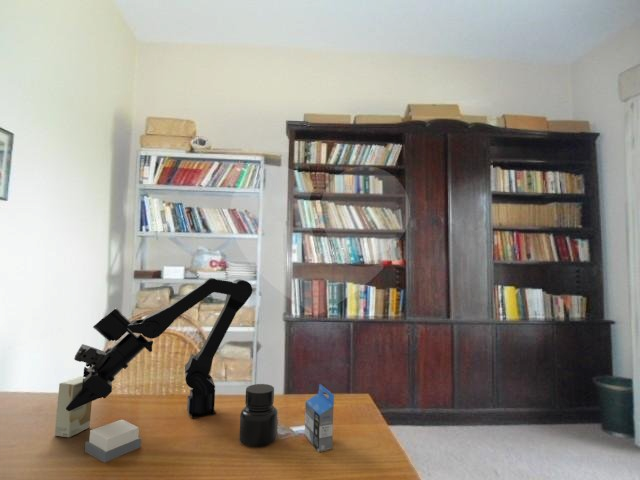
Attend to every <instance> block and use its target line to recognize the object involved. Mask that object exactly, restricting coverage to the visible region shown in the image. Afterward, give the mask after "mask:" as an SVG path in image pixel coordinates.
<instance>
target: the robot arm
mask: <svg viewBox="0 0 640 480" xmlns="http://www.w3.org/2000/svg"><path fill="white" fill-rule="evenodd" d="M214 293H217V294H222V295H226V296H225V302H224V306H223V307H222V309H221V311H220V313H219V315H218V317H217V318H216V321H215V322H214V325H213V326H212V328H211V330H210V332H209V333H208V335H207V337H206V340H205V341H204V343H203V345H202V347H201V349H200V350H199V351H198V352H197V354H194V353H190V356H189V359H188V361H187V362H186V363H185V364H184V379H185V383H186V385H187V387H189V388H191V389H189V395H187V402H186V411H187V413H188V415H189V416H190V418H191V419H195V418H196V419H197V418H201V417H207V416H212V415H213V416H214V415H216V414H217V411H216V410H215V403H216V402H215V401H216V399H215V398H216V396H215V395H216V384H215V382H214V379H213V377H212V376H211V375H210V372H211V369H212V365H213V361H214V357H215V356H216V354H217V352H218V349H219V347H220V345H221V343H222V342H223V341H224V340H223V339H224V338H225V336H226V334H227V332H228V330H229V329H230V326H231V324H232V322H233V320H234V318H235V316H236V315H237V313H238V311H239V310H241V308H242V307H243V306H244V305H245V304H246V303H247V302H248V301H249V299H250V297H251V296H252V294H253V287H252V285H251V283H250V282H249V281H247V280H246V279H245V280H244V279H235V280H233V281H230V280H222V279H217V278H215V277H214V278H213V277H209V278H207V279H205V280H204V282H202V283H201V284H199V285H198V286H196V287H195V288H194V289H192V290H191V291H189V292H188V293H186V294H185V295H183V296H182V297H180V298H179V299H177V300H176V301H174V302H173V303H171V304H170V305H168V306H166V307H163V308H161V309H159V310H157V311H155V312H152V313H150V314H148V315H146V317H144V318H140V319H134V320H131V321H130V320H129V319H127V317H126V316H125V315H123V313H122V311H120V310H119V309H118V308H117V307H115V308H114V309H113V310H112V311H111V312H110V313H109V314H107V315H105V316H104V317H102V318H101V319H100V320H99V321H98V322H97V323H96V324H94V325H93V326H92V328H93V329H94V330H96V332H98V333H99V334H100V335H101V336H102V337H103V338H105V340H107V341H108V342H111V341H112V342H117V341H118V340H119V341H118V342H117V343H116V344H115V345H114V346H113V347H109V348H107V349H106V350H105V351H104V350H101V349H98V348H97V347H92V346H90V345H87V344H84V343H83V344H81V345H80V347H79V348H78V350H77V351H76V354H75V355H74V361H75V362H81V363H85V366H84V367H83V376H82V377H86V378H85V379H84V378H83V384H82V389H81V390H80V391H79V392H78V393H77V395H76V396H75V397H74V398H73V400H72V401H71V402H70V403H69V404H68V406H67V407H66V410H68V411H71V410H73V409H76V408H78V407H80V406H82V405H84V404H87V403H89V402H91V401H92V402H93V401H96V400H98V399H106V398H108V396H109V395H111V394H112V392H113V384H112V382H113V381H114V380H115V377H116V376H117V375H118V374H119V373H120V372H121V371H122V370H123V369H124V370H126V369H127V368H128V367H129V364H130V362H131V361H133V360H134V359H135V358H136V357H137V355H139V354H140V353H141V352H142V351H144V349H146V350H147V351H148V352H149V353H152V352H153V345H154V340H153V339H156V338H159V337H160V336H161V335H162V334H164V332H165V331H166V330H167V329H169V327H170V326H171V325H172V324H173V323H174V322H175V321H176V320H177V319H178V318H179V317H181V316H182V315H183V314H184V313H186V312H187V311H189V310H190V309H191V308H193V307H195V306H196V305H197V304H199V303H200V302H202V301H203V300H205V298H207V297H209V296H210V295H212V294H214ZM126 333H127V334H126ZM125 334H126V335H125ZM137 334H138V335H137ZM124 335H125V336H124ZM123 336H124V337H123ZM122 337H123V338H122ZM121 338H122V339H121ZM120 339H121V340H120ZM148 339H152V340H148Z"/></svg>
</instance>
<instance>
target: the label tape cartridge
mask: <svg viewBox="0 0 640 480" xmlns="http://www.w3.org/2000/svg"><path fill="white" fill-rule="evenodd" d="M324 393H325V394H326V395H327V396H328V397H327V396H326V395H325V394H324ZM304 403H305V405H304V406H305V407H304V409H305V412H304V436H305V437H307V438H306V439H307V440H308V441H309V442H310V443H311V444H312V446H313V448H314V449H316V451H317V452H318V453H322V452H321V451H323V452H325V451H324V450H328V451H330V450H329V449H332V450H333V436H334V435H333V434H334V406H335V405H334V404H335V394H334V393H333V392H331V391H330V390H329V389H327V388H326V387H325V386H323V385H322V384H321V383H319V385H318V392H317V393H316V394H315V395H314V396H312V397H311V398H308V399H307V400H306V401H305V402H304Z"/></svg>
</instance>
